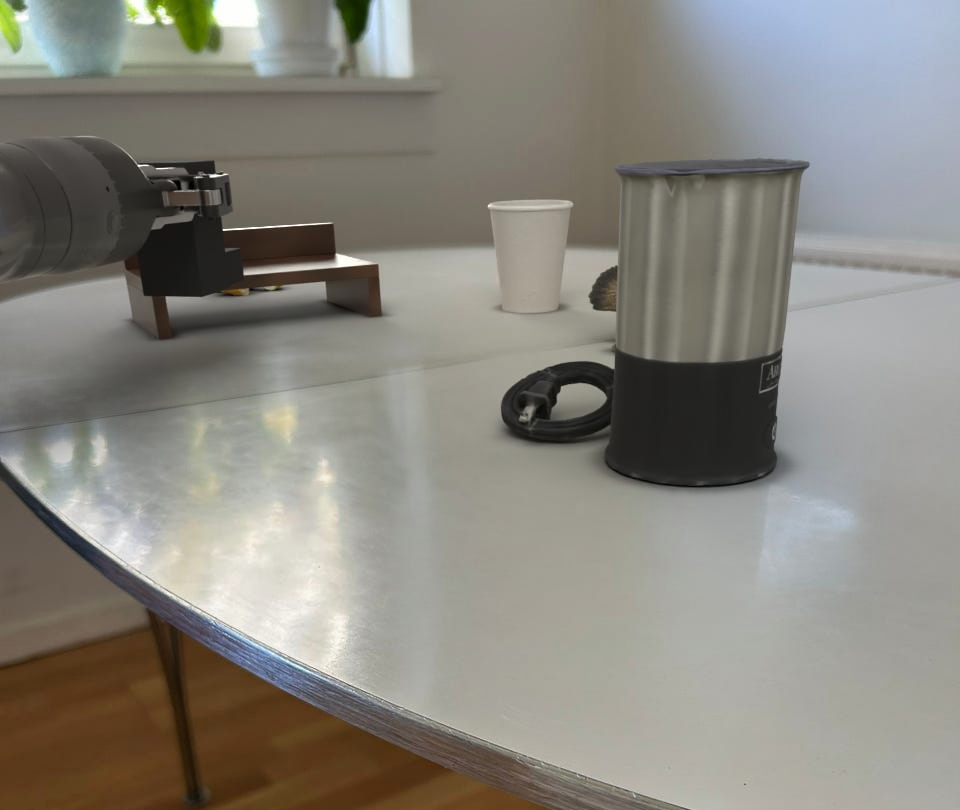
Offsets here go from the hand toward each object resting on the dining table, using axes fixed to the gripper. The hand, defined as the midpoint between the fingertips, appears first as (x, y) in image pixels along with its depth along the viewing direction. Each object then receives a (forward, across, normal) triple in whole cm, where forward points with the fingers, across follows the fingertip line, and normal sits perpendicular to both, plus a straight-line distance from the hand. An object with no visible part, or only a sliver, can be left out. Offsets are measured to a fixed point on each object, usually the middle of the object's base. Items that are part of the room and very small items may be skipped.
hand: (189, 189), depth 75 cm
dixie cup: (+29, -22, +13) cm, 38 cm away
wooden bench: (+21, +5, +13) cm, 25 cm away
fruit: (+39, +15, +13) cm, 44 cm away
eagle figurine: (+11, -34, +13) cm, 38 cm away
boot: (-1, 0, +7) cm, 7 cm away
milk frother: (-20, -35, +13) cm, 43 cm away
